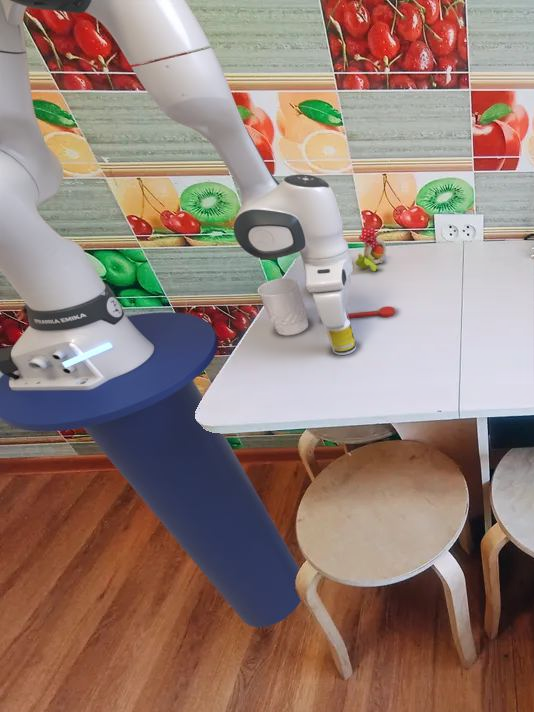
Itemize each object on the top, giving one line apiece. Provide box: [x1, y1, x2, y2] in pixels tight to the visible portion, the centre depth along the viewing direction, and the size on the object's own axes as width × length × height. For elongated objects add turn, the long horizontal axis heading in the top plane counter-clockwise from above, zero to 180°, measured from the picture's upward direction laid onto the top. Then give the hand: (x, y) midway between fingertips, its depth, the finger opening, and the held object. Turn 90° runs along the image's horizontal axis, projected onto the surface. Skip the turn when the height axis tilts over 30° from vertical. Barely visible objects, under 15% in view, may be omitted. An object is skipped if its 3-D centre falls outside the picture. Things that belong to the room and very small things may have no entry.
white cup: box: [257, 277, 309, 336], centre depth 100 cm, size 8×8×10 cm
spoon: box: [348, 305, 396, 319], centre depth 106 cm, size 16×4×1 cm, turn 101°
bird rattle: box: [354, 227, 387, 272], centre depth 124 cm, size 6×11×9 cm
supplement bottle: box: [325, 312, 357, 356], centre depth 93 cm, size 5×5×8 cm
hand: (344, 324), depth 100 cm, fingers closed
